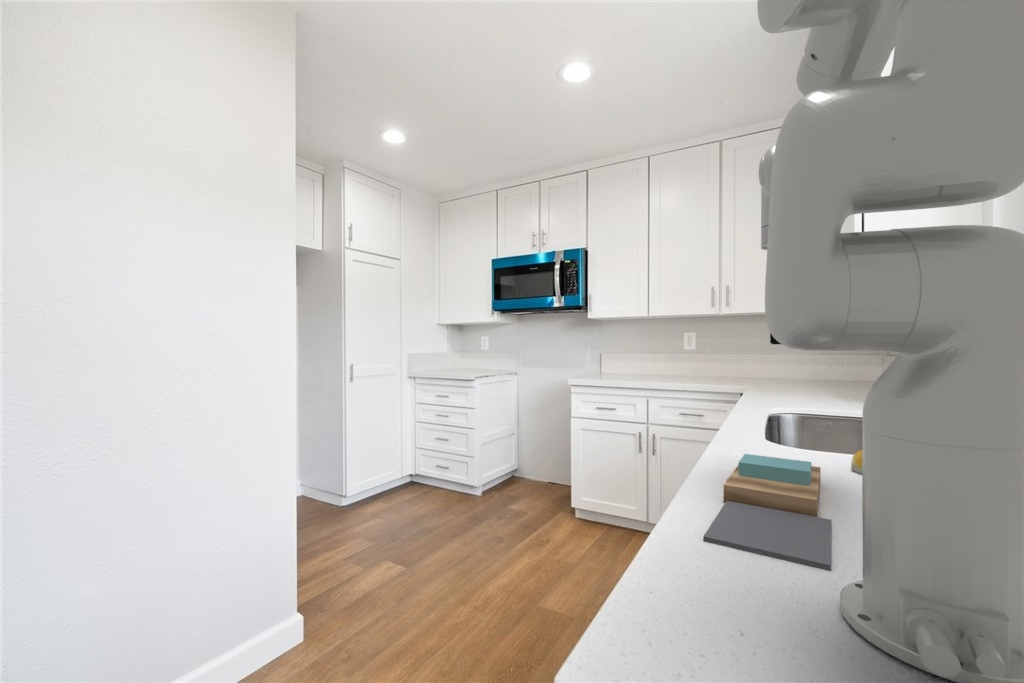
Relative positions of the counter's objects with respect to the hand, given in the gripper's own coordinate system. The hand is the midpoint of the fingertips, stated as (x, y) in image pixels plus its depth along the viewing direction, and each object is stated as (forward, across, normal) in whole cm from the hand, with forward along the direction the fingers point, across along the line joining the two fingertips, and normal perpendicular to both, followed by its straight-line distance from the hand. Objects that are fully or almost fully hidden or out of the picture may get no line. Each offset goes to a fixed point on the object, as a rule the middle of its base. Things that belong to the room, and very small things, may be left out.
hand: (786, 343), depth 75 cm
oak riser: (+22, -9, 0) cm, 24 cm away
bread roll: (+23, +13, -12) cm, 29 cm away
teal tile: (+19, -9, 0) cm, 21 cm away
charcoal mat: (+22, -25, -2) cm, 33 cm away
